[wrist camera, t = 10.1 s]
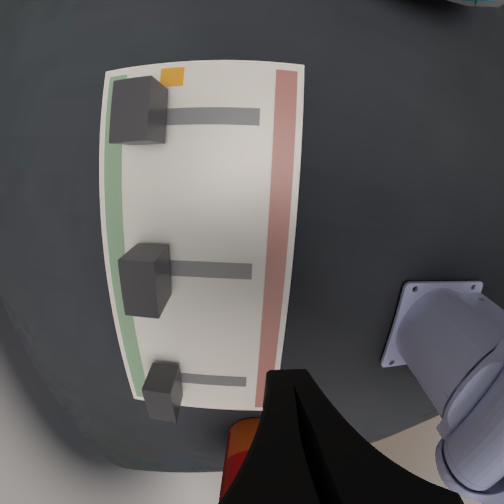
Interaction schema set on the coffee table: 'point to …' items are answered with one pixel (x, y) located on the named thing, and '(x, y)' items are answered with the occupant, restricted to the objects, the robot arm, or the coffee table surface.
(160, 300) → the breaker
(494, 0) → the puzzle ball
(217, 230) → the breaker panel
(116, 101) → the block
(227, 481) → the paper cup
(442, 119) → the coffee table surface
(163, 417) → the block
